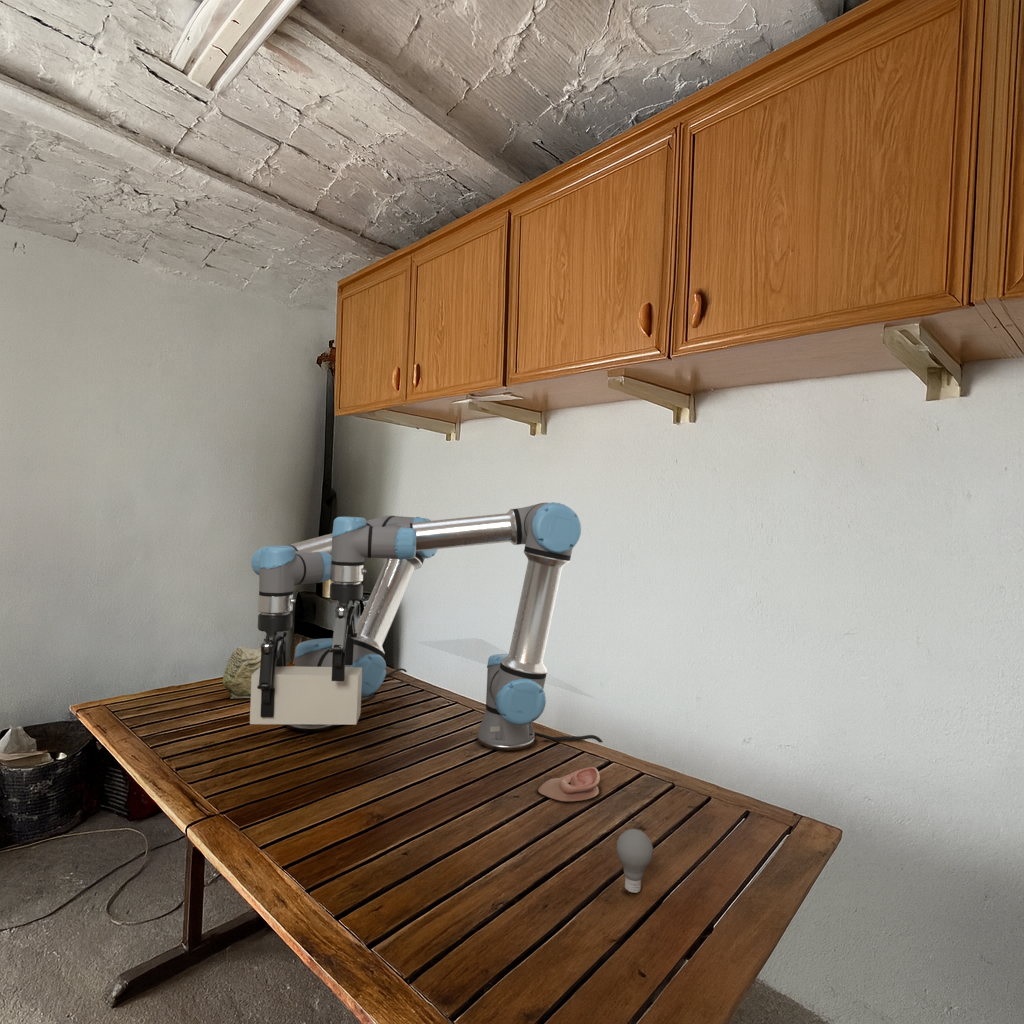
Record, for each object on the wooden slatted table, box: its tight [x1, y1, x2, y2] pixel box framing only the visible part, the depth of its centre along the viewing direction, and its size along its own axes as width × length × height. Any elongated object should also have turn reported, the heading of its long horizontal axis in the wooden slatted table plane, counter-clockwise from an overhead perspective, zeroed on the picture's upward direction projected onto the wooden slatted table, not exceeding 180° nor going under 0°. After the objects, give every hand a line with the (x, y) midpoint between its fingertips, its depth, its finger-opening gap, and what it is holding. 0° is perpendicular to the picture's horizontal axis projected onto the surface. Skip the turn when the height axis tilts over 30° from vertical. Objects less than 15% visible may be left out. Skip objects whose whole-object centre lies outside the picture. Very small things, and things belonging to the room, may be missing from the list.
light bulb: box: [615, 828, 654, 894], centre depth 106 cm, size 6×6×10 cm
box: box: [249, 665, 362, 726], centre depth 148 cm, size 24×8×11 cm, turn 96°
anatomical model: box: [537, 766, 601, 802], centre depth 141 cm, size 13×4×12 cm
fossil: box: [222, 646, 261, 699], centre depth 198 cm, size 9×18×15 cm, turn 132°
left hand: (272, 710), depth 147 cm, fingers closed on box, 7 cm apart
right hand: (342, 672), depth 149 cm, fingers open, 13 cm apart
